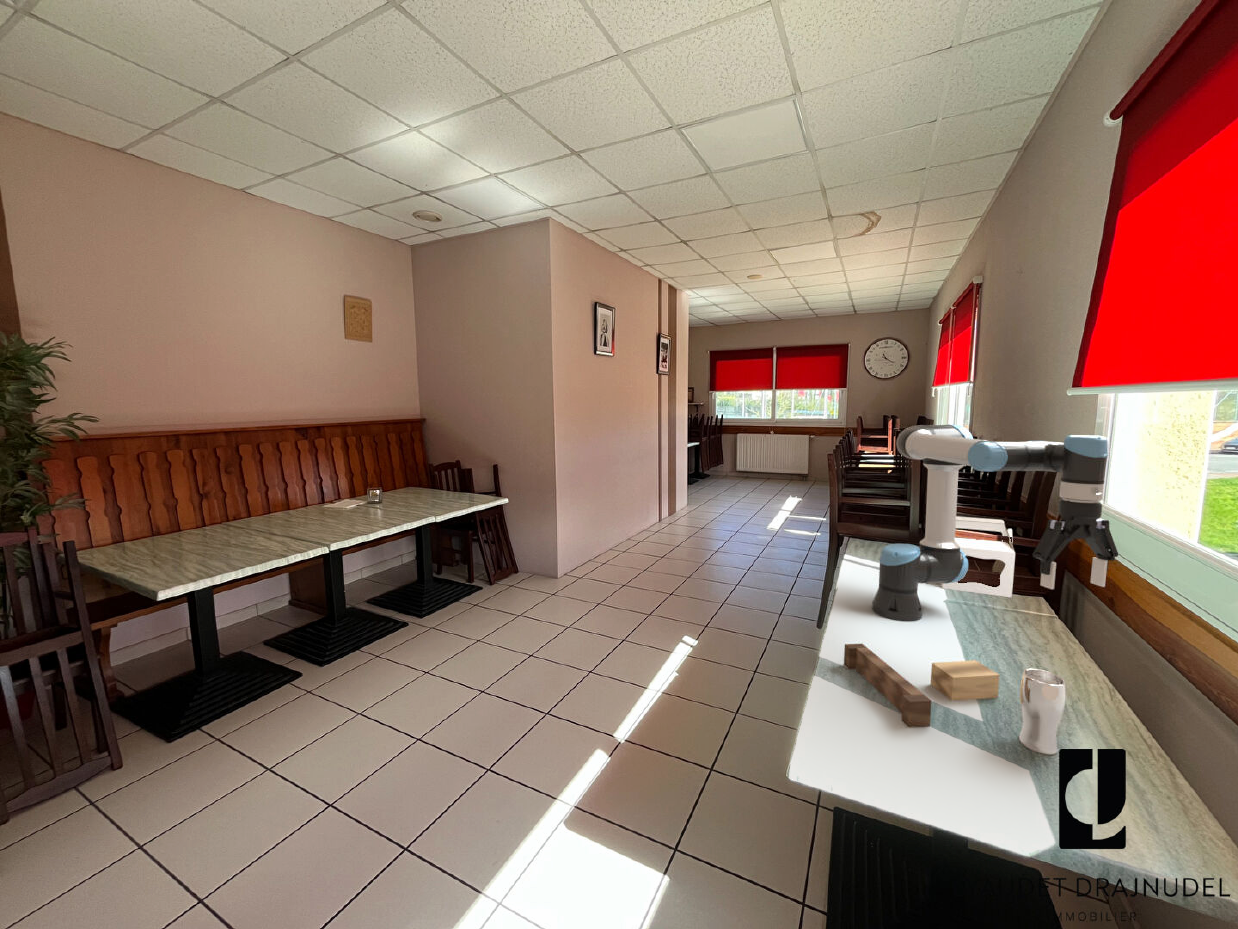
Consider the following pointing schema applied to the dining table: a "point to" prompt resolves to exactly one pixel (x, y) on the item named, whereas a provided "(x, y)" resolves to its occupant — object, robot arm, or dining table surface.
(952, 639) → the dining table surface
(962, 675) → the oak block
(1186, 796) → the dining table surface
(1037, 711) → the silver metal tumbler
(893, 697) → the brown wooden bar
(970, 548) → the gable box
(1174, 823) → the dining table surface
